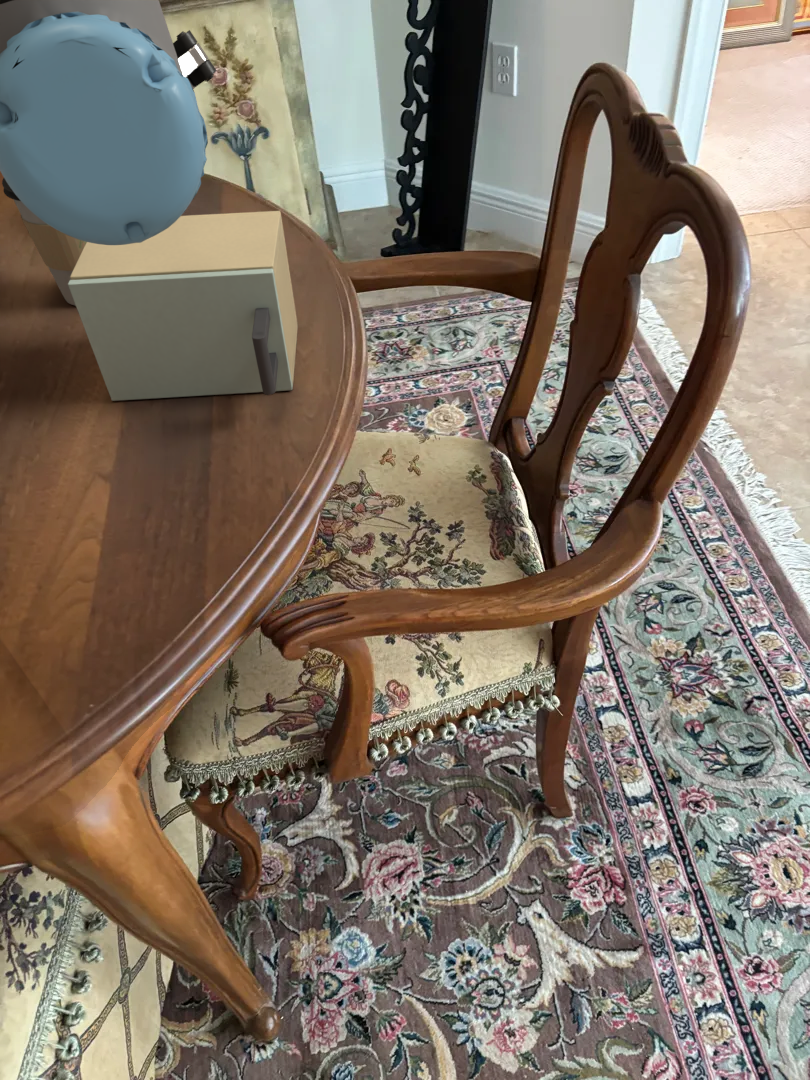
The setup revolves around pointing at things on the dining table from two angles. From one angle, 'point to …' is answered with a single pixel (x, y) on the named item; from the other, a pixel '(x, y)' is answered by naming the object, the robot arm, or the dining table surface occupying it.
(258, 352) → the cupboard door
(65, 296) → the coffee cup
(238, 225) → the cupboard
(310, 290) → the dining table surface
